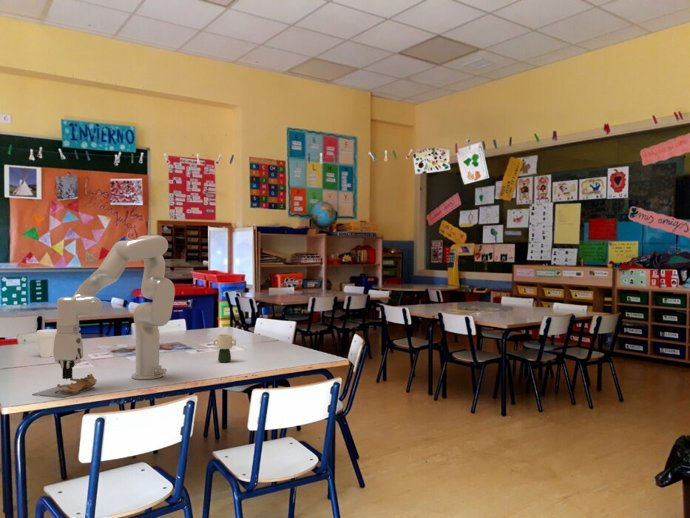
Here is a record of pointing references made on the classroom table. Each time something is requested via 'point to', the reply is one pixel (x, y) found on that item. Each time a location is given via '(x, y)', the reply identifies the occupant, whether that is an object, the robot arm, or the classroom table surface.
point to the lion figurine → (78, 384)
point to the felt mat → (60, 394)
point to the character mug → (224, 346)
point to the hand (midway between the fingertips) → (67, 378)
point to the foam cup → (46, 342)
